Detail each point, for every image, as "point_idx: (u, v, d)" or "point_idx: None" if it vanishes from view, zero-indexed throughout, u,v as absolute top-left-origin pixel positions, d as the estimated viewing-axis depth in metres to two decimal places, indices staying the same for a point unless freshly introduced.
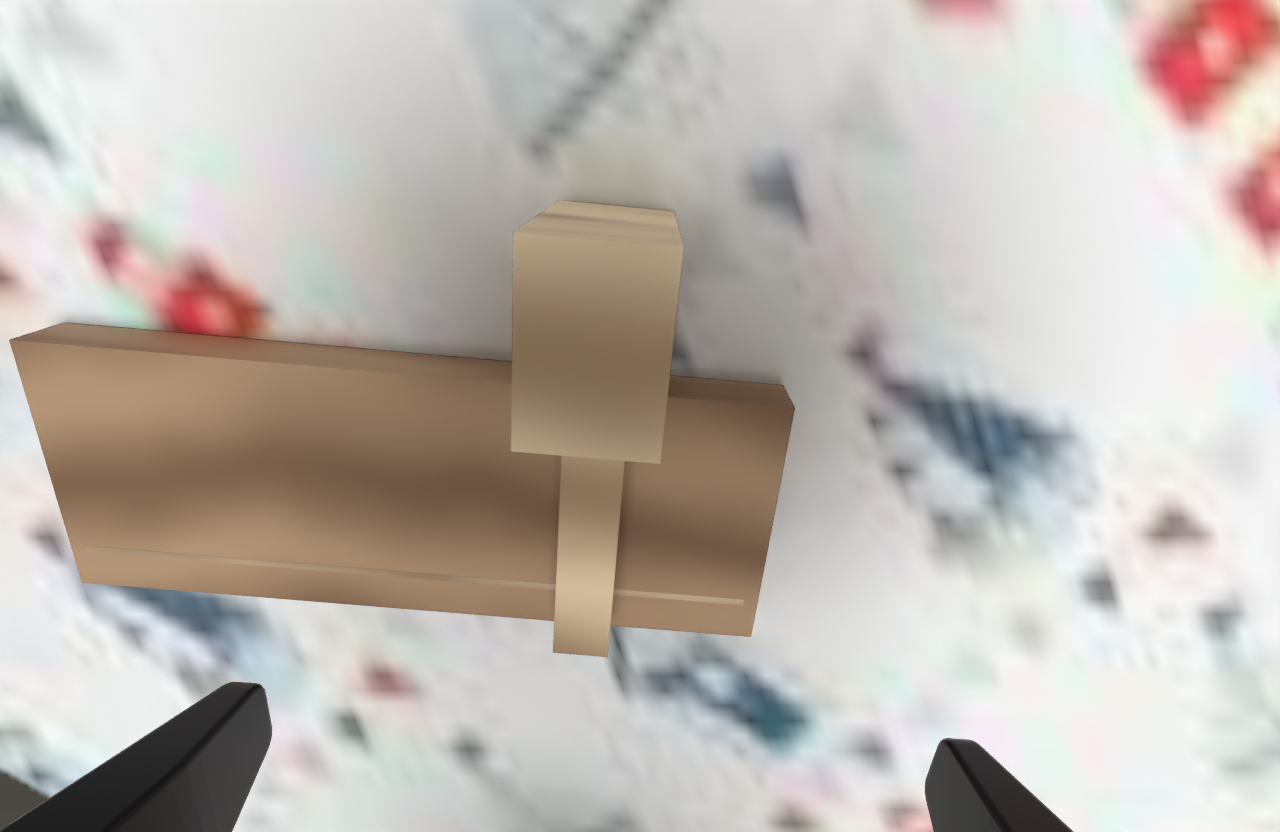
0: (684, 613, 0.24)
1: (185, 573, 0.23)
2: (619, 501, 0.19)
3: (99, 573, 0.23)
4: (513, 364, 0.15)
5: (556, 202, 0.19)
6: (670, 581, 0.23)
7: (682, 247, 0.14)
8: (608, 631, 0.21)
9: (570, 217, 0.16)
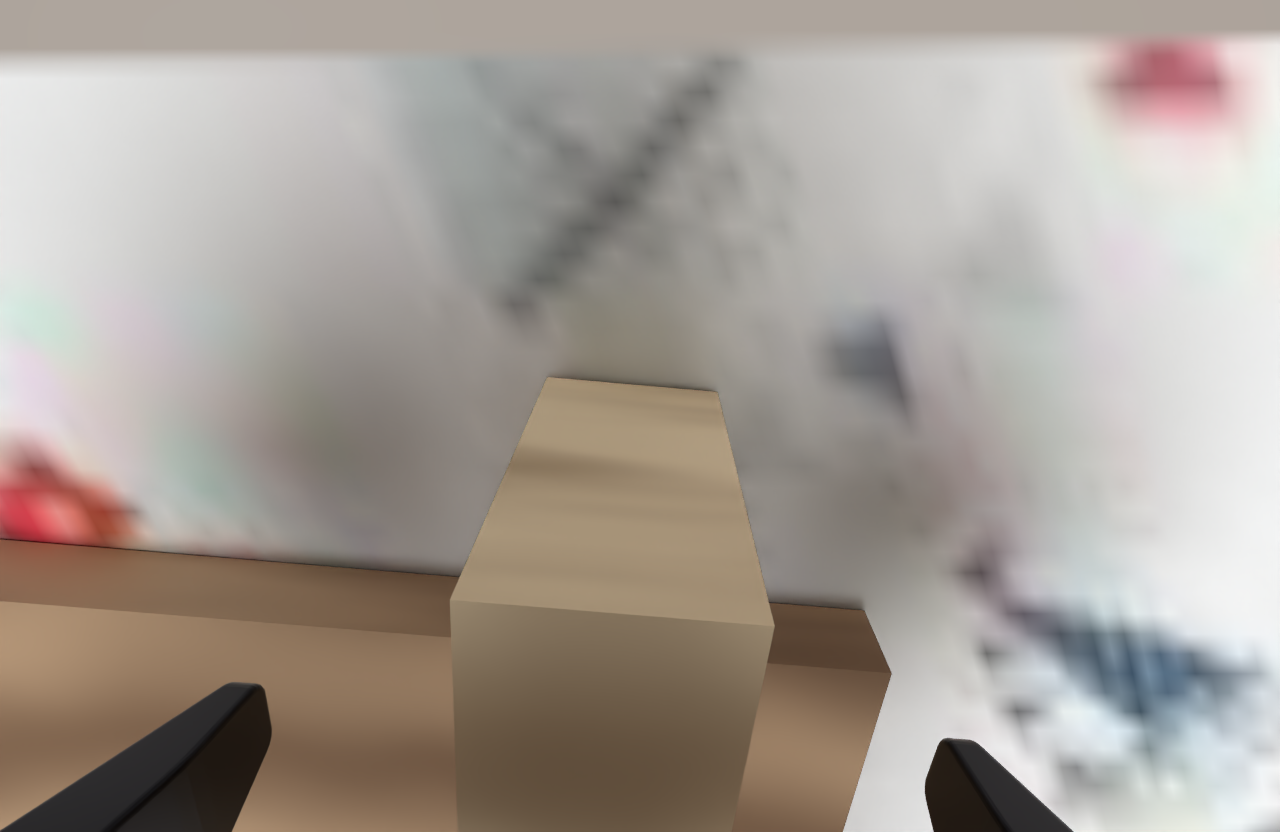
0: None
1: None
2: None
3: None
4: (459, 785, 0.08)
5: (543, 387, 0.13)
6: None
7: (771, 624, 0.07)
8: None
9: (562, 468, 0.10)
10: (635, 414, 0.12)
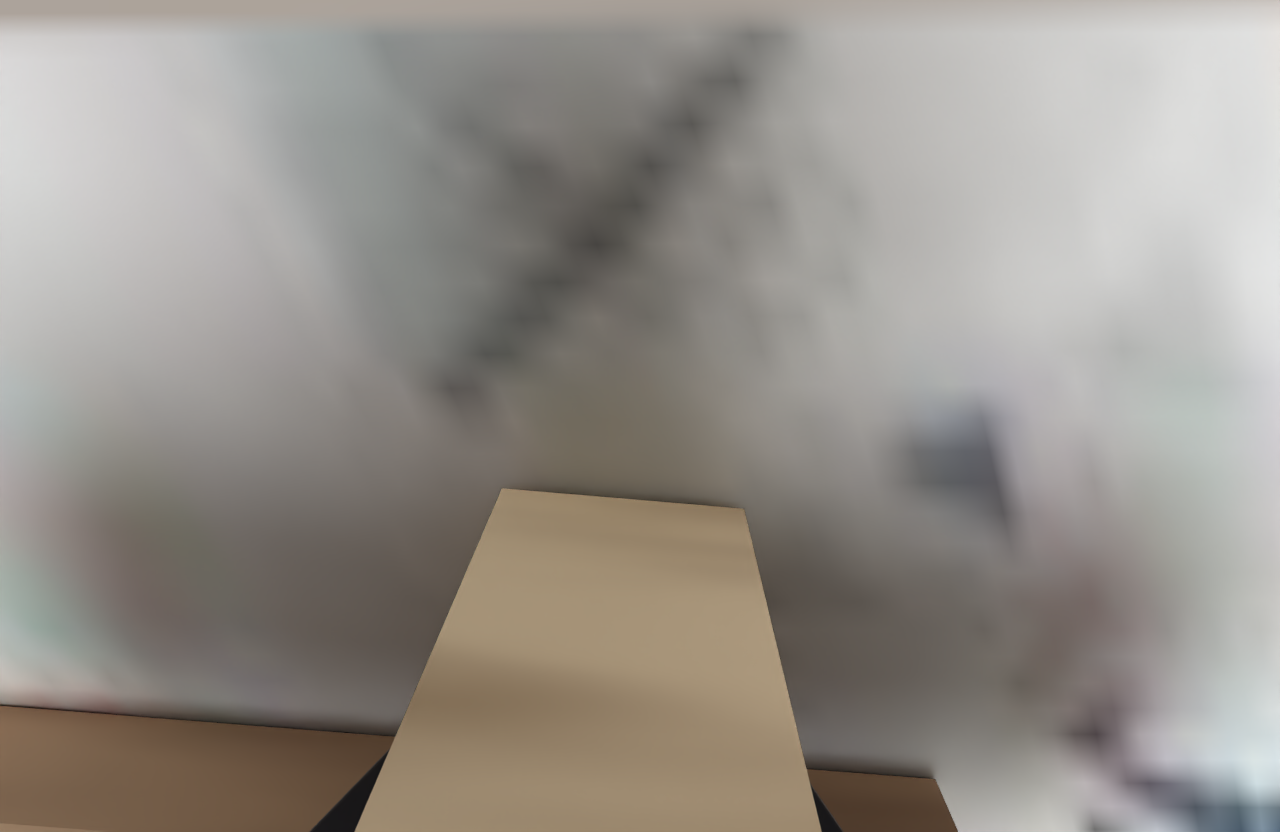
0: None
1: None
2: None
3: None
4: None
5: (494, 509, 0.09)
6: None
7: None
8: None
9: (501, 705, 0.06)
10: (626, 563, 0.08)
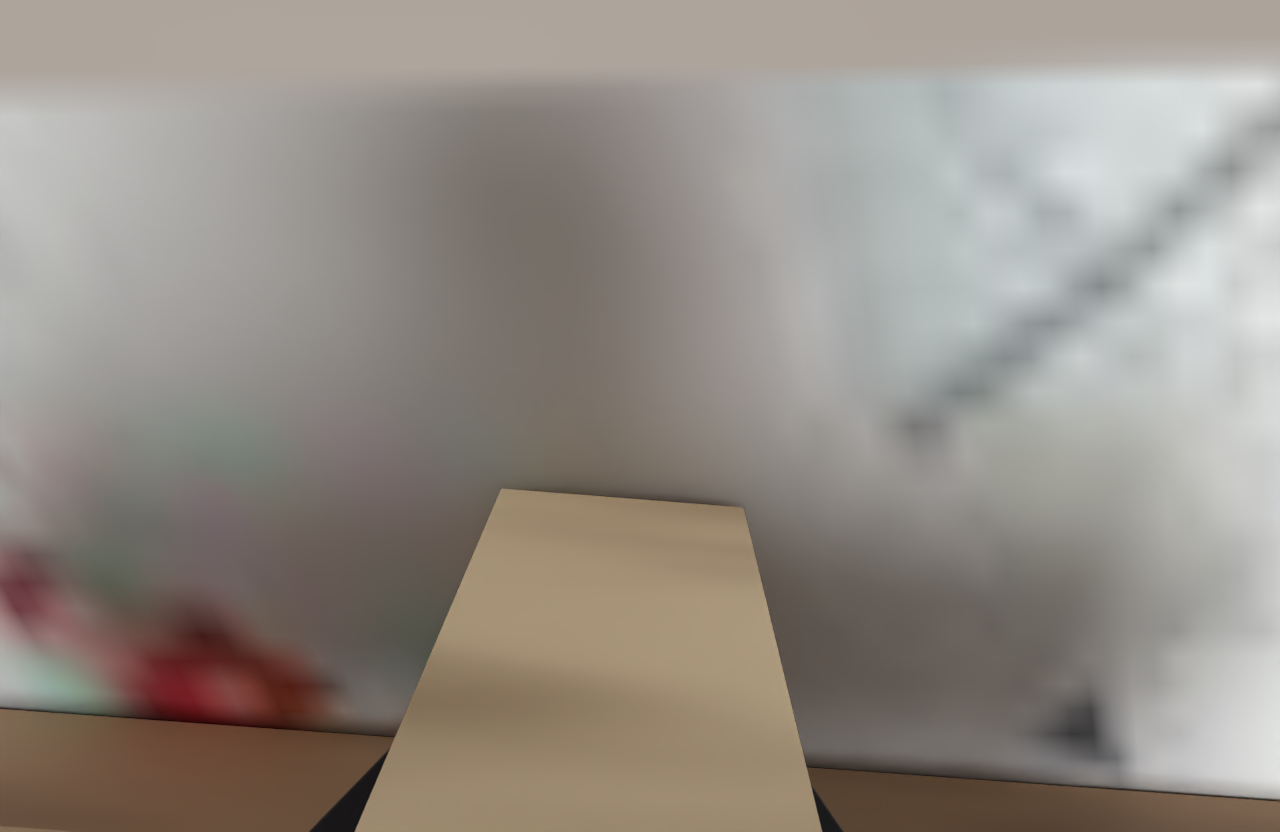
0: None
1: None
2: None
3: None
4: None
5: (493, 510, 0.09)
6: None
7: None
8: None
9: (500, 706, 0.06)
10: (625, 562, 0.08)
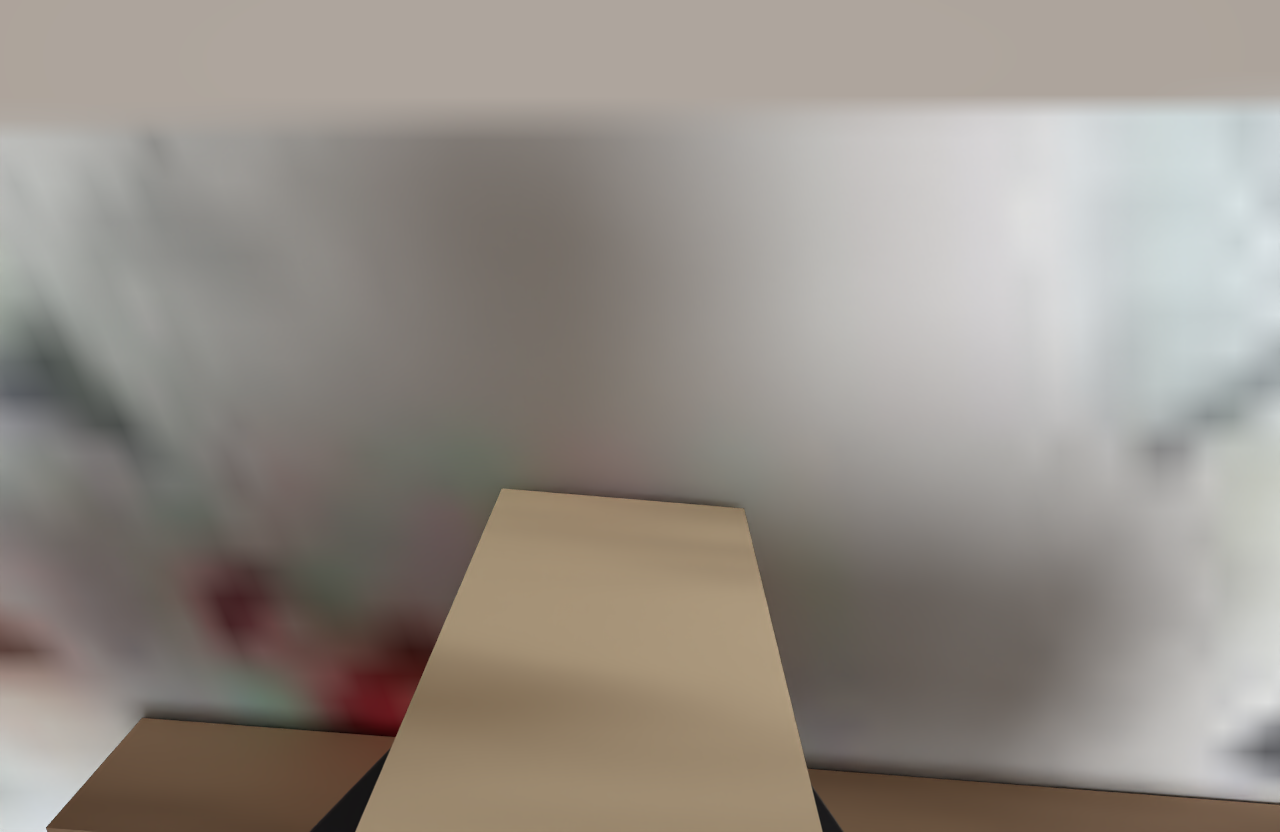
0: None
1: None
2: None
3: None
4: None
5: (493, 509, 0.09)
6: None
7: None
8: None
9: (501, 706, 0.06)
10: (626, 562, 0.08)
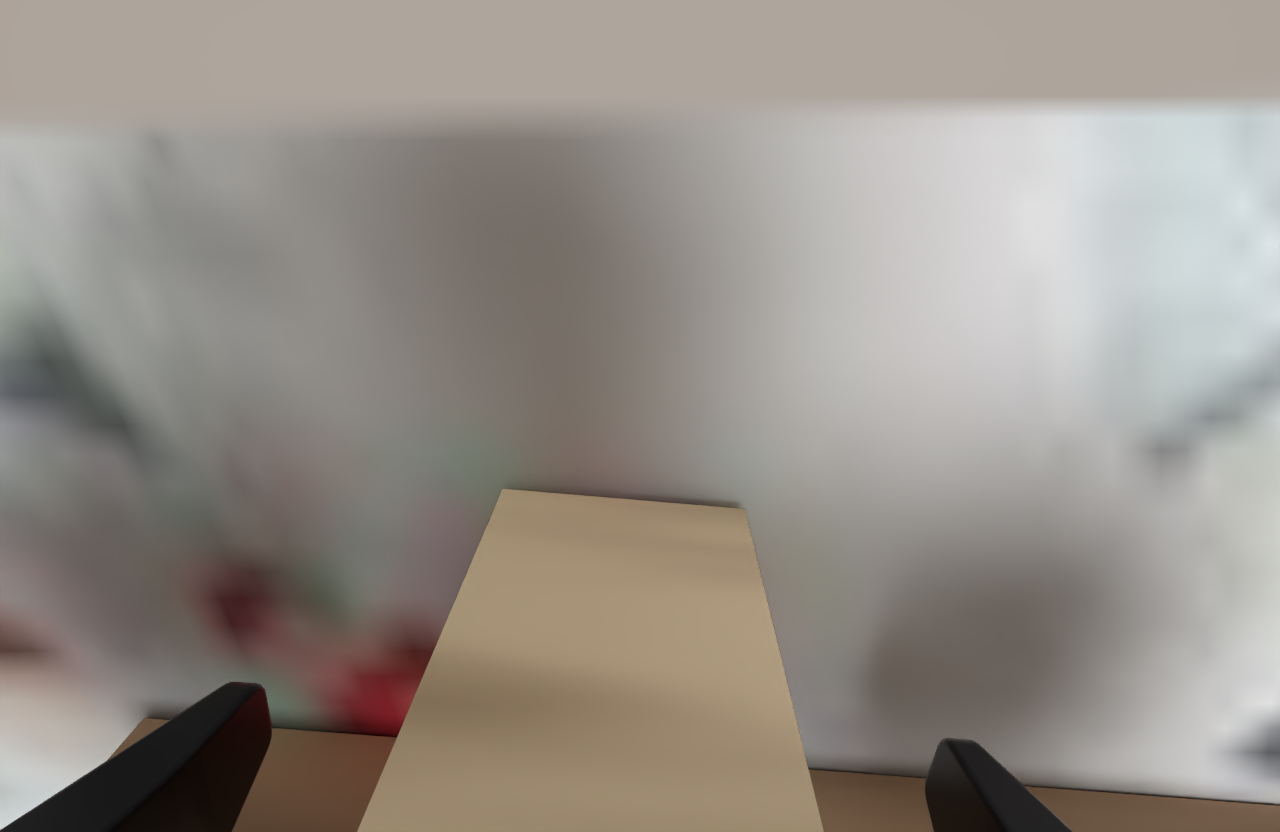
0: None
1: None
2: None
3: None
4: None
5: (494, 510, 0.09)
6: None
7: None
8: None
9: (502, 706, 0.06)
10: (627, 563, 0.08)
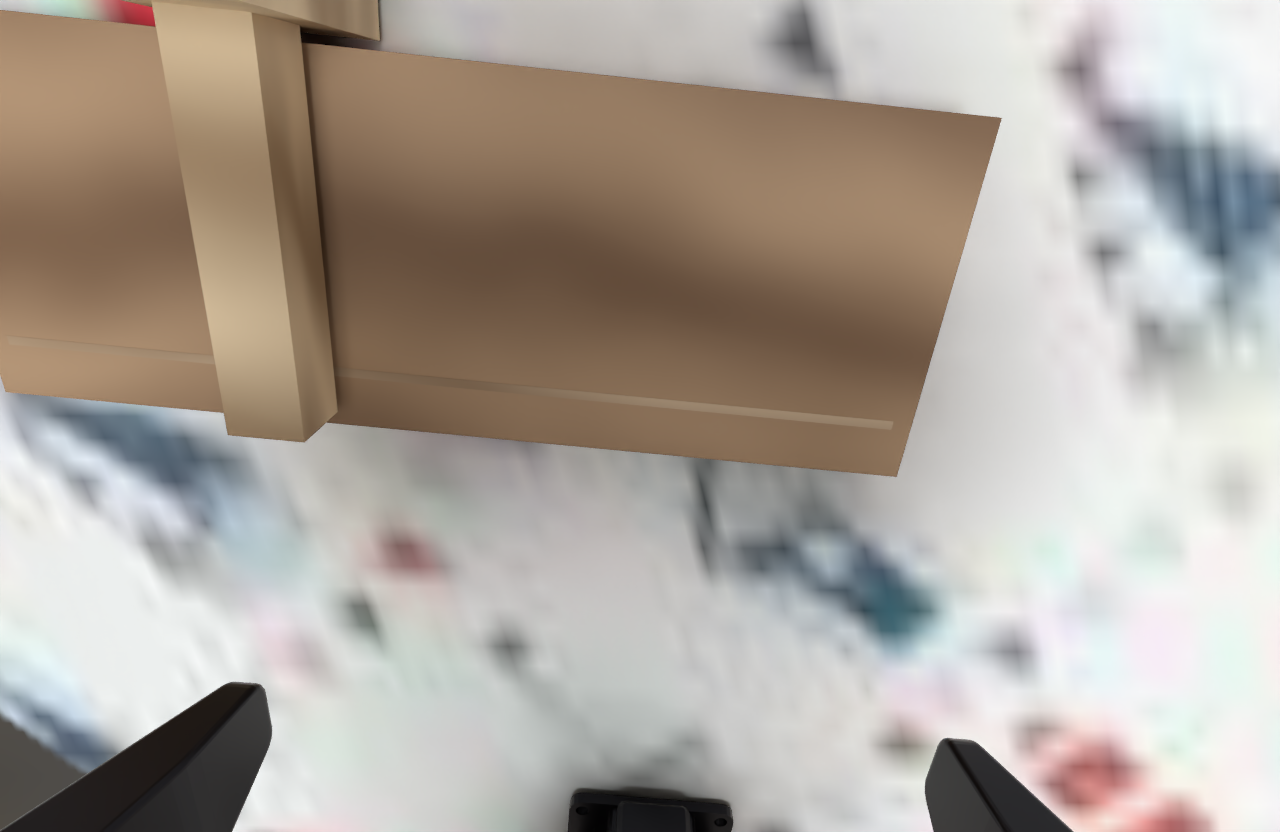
0: (811, 441, 0.18)
1: (145, 379, 0.17)
2: (269, 178, 0.13)
3: (28, 378, 0.17)
4: None
5: None
6: (798, 393, 0.17)
7: None
8: (296, 400, 0.15)
9: None
10: None
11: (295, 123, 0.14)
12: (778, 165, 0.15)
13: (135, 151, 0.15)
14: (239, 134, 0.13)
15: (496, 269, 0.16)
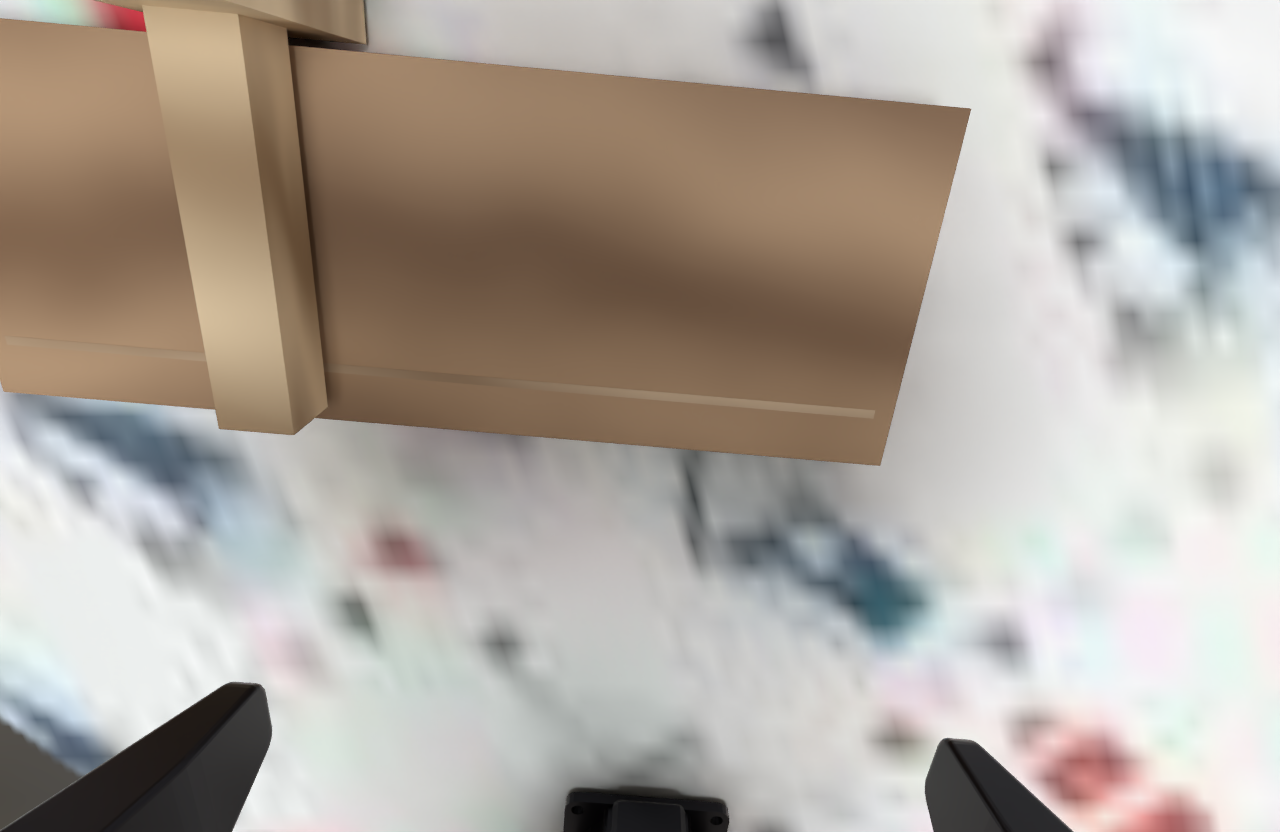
0: (795, 431, 0.18)
1: (139, 377, 0.18)
2: (256, 175, 0.14)
3: (25, 377, 0.18)
4: None
5: None
6: (780, 383, 0.17)
7: None
8: (286, 393, 0.16)
9: None
10: None
11: (283, 122, 0.14)
12: (754, 158, 0.15)
13: (129, 153, 0.15)
14: (227, 132, 0.13)
15: (481, 264, 0.16)
